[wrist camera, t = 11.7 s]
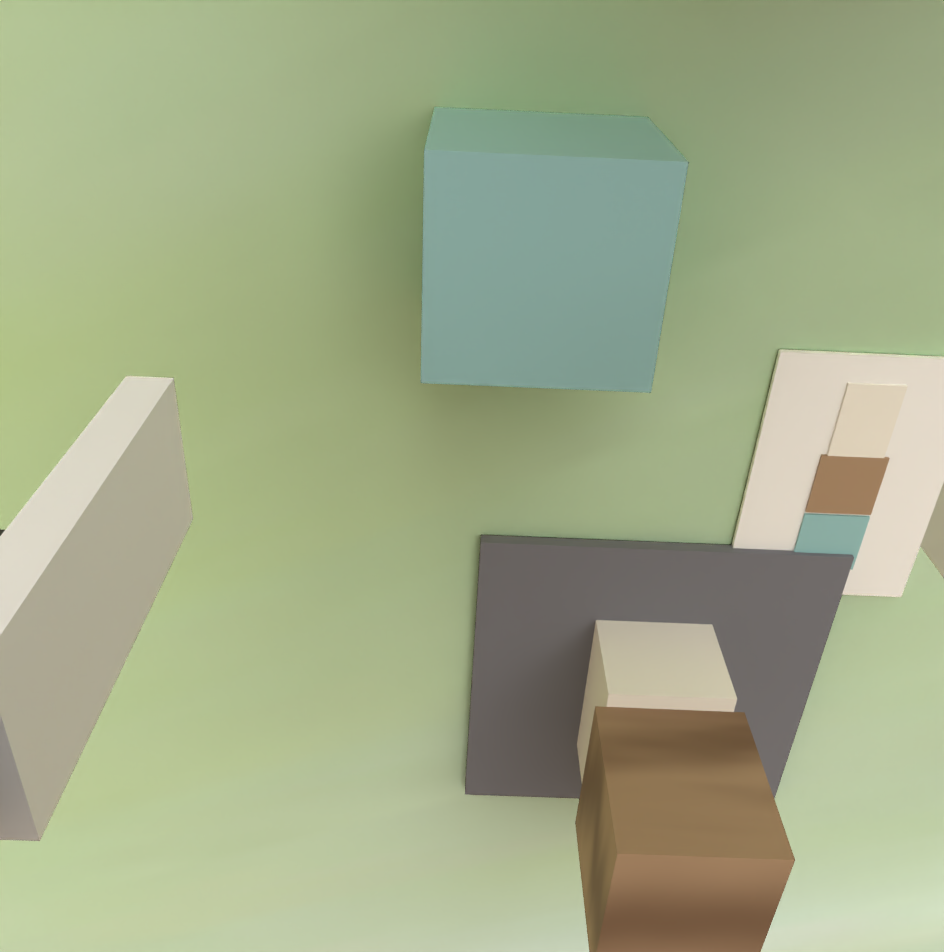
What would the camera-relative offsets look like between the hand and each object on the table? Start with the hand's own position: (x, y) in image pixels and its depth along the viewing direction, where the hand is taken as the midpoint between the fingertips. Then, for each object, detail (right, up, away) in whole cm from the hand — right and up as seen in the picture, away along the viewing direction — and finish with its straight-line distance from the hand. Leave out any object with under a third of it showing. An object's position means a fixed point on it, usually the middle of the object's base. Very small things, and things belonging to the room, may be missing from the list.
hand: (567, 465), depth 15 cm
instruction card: (+12, 0, +17) cm, 21 cm away
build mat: (+5, -9, +22) cm, 25 cm away
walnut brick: (+5, -11, +19) cm, 23 cm away
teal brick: (0, +8, +12) cm, 15 cm away
